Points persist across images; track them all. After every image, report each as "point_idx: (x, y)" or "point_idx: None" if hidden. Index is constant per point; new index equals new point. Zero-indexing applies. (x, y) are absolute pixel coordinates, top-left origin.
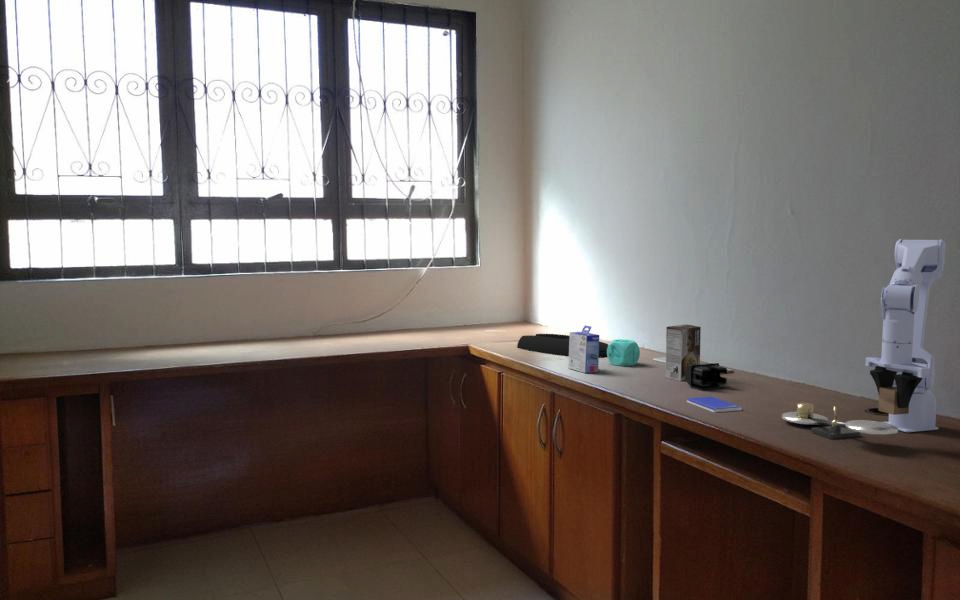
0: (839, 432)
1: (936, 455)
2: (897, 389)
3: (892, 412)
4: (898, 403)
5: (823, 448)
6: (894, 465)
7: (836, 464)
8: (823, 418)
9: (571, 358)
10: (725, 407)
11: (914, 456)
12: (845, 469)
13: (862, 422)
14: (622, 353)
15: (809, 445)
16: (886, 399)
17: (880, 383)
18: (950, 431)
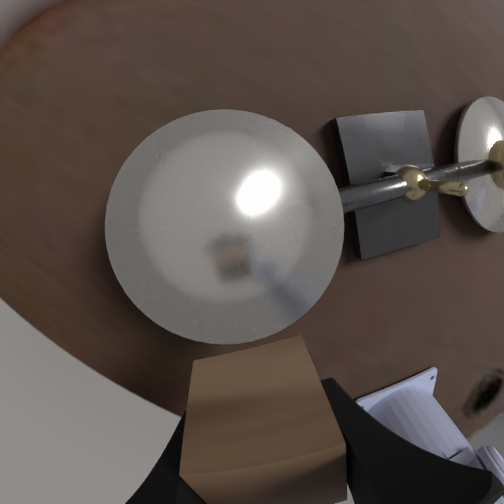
0: (365, 173)
1: (129, 364)
2: (173, 494)
3: (200, 366)
4: None
5: (209, 33)
6: (26, 184)
7: (53, 26)
8: (486, 212)
9: None
10: None
11: (109, 300)
12: (20, 41)
13: (296, 229)
14: None
15: (251, 9)
16: (252, 404)
17: (363, 473)
18: None
